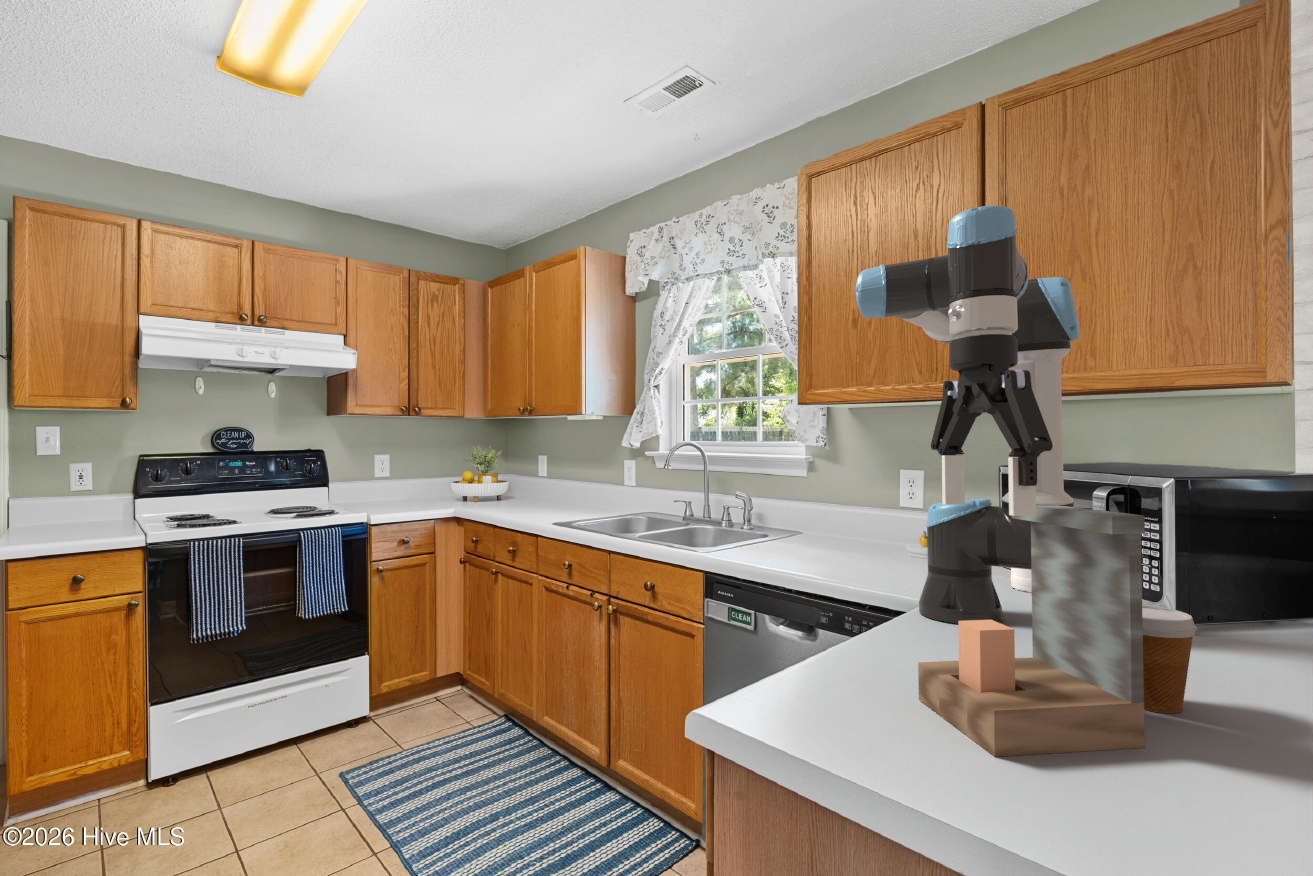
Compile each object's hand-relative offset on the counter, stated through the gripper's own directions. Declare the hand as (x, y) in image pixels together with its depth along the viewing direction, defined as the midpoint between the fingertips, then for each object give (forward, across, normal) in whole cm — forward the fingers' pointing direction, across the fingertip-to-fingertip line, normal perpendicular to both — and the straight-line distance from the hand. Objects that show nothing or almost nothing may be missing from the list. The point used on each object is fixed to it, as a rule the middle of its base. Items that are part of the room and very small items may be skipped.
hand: (985, 509), depth 79 cm
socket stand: (+26, 0, +4) cm, 26 cm away
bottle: (+27, -68, +56) cm, 92 cm away
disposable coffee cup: (+26, -3, +25) cm, 36 cm away
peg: (+26, 0, 0) cm, 26 cm away
